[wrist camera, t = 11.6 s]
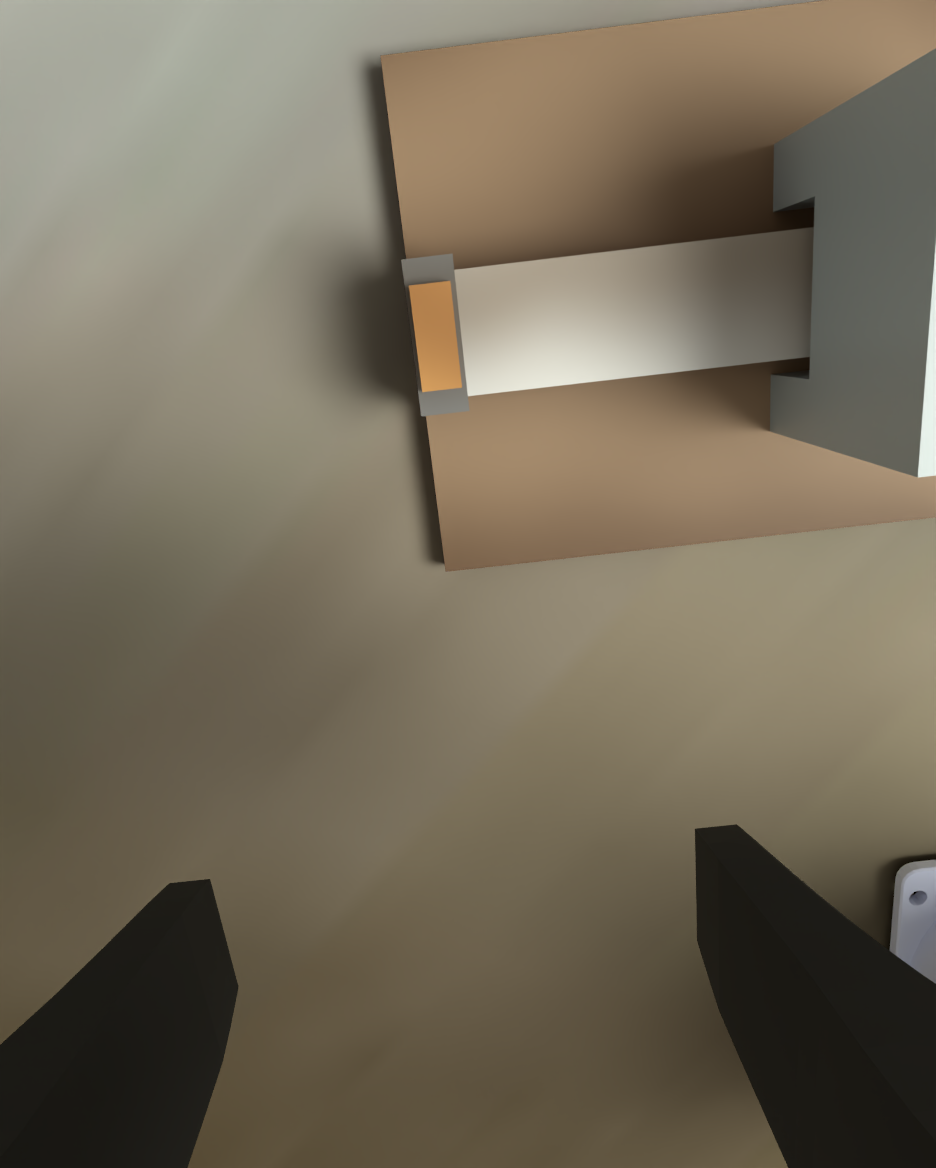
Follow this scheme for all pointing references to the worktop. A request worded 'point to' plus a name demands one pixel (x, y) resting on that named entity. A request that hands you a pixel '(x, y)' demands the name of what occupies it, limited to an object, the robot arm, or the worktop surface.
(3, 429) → the worktop surface
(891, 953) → the robot arm
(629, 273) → the rail mount
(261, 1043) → the worktop surface
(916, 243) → the block
